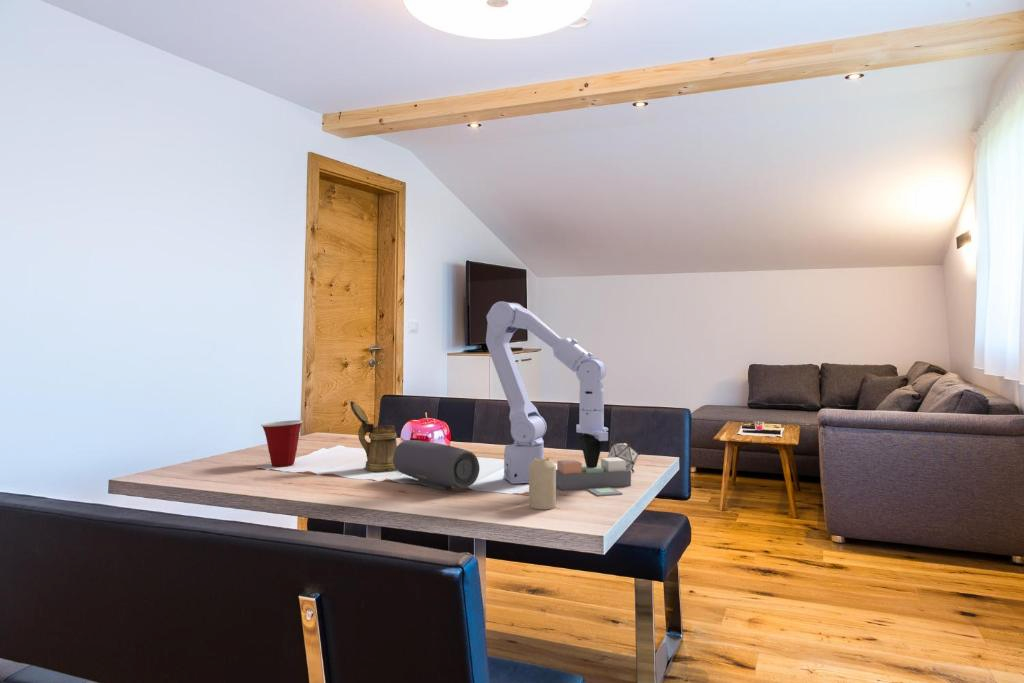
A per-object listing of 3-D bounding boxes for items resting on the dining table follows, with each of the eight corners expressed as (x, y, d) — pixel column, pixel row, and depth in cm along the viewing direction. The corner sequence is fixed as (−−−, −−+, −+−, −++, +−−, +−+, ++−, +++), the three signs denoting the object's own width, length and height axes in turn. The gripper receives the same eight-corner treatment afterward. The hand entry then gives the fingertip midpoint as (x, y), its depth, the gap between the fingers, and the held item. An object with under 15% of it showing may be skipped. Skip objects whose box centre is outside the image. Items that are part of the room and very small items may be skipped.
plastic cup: (281, 460, 190) (280, 417, 190) (311, 462, 186) (311, 419, 186) (252, 466, 180) (252, 422, 180) (283, 470, 176) (283, 424, 176)
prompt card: (597, 496, 148) (597, 494, 148) (587, 490, 153) (587, 488, 153) (622, 494, 149) (622, 492, 149) (611, 488, 155) (611, 486, 155)
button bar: (561, 490, 153) (561, 475, 153) (552, 484, 159) (552, 469, 159) (630, 485, 158) (630, 470, 158) (619, 480, 164) (619, 465, 164)
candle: (554, 503, 142) (554, 455, 142) (557, 509, 136) (557, 460, 136) (528, 503, 141) (528, 456, 141) (529, 510, 136) (529, 460, 136)
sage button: (586, 482, 156) (586, 469, 156) (579, 478, 160) (579, 465, 160) (603, 480, 157) (603, 468, 157) (596, 477, 161) (596, 464, 161)
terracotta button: (563, 477, 154) (563, 464, 154) (557, 473, 158) (557, 460, 158) (581, 475, 155) (581, 463, 155) (574, 472, 160) (574, 459, 160)
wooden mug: (356, 464, 184) (355, 399, 183) (404, 465, 182) (404, 399, 182) (344, 471, 175) (344, 402, 174) (395, 472, 173) (395, 402, 173)
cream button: (608, 474, 157) (608, 461, 157) (600, 470, 162) (601, 458, 162) (625, 473, 159) (625, 460, 159) (617, 469, 163) (617, 457, 163)
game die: (629, 487, 172) (645, 460, 167) (598, 475, 172) (612, 448, 167) (631, 465, 180) (646, 438, 174) (601, 453, 180) (615, 426, 174)
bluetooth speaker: (481, 490, 154) (481, 446, 154) (450, 496, 147) (450, 451, 147) (421, 475, 170) (421, 435, 170) (391, 480, 164) (391, 439, 163)
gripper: (620, 412, 152) (620, 472, 153) (595, 405, 166) (595, 460, 167) (591, 413, 151) (591, 473, 151) (568, 406, 164) (568, 462, 165)
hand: (591, 467), depth 158 cm, fingers closed, pressing on sage button
